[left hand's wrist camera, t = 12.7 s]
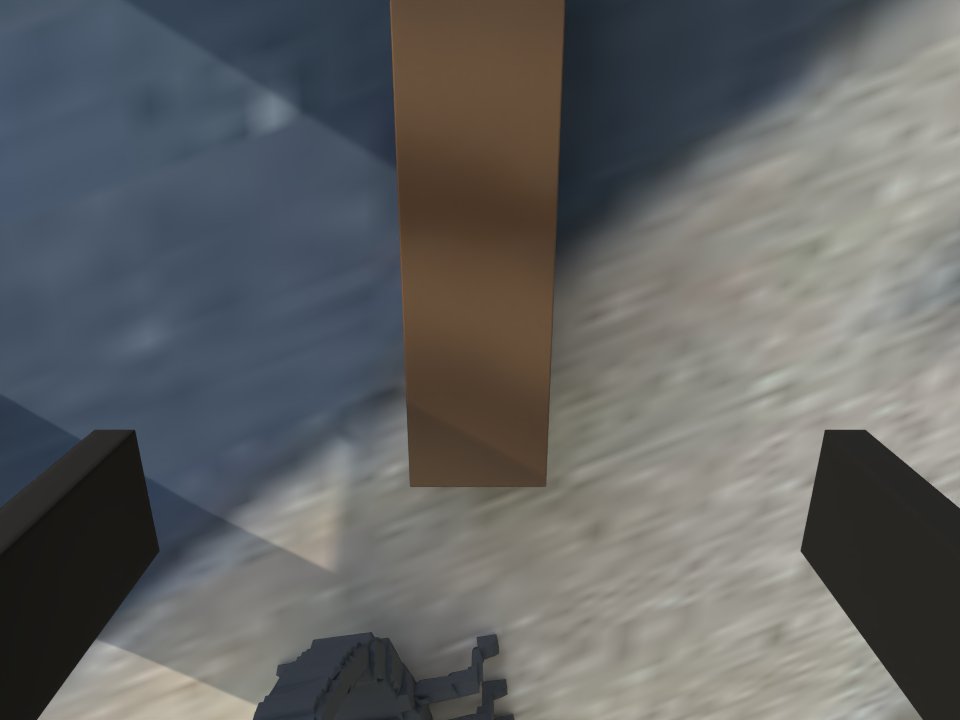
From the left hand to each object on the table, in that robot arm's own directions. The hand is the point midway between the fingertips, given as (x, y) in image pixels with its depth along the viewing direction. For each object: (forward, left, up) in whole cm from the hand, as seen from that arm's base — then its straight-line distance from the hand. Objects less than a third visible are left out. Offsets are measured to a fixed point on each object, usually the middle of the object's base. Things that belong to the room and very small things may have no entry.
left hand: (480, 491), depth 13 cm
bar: (+9, +27, -20) cm, 35 cm away
